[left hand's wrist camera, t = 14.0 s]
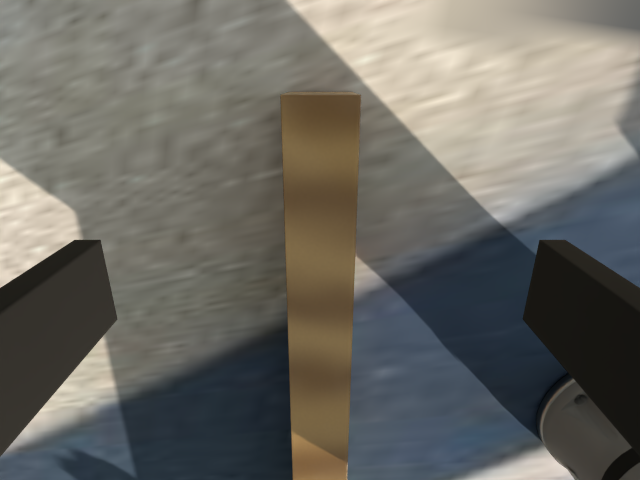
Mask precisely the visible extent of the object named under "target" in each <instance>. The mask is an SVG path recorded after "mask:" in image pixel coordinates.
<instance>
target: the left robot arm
mask: <svg viewBox="0 0 640 480" xmlns="http://www.w3.org/2000/svg"><path fill="white" fill-rule="evenodd" d="M116 320H117V315H116V311H115V306H114V301H113V297H112V292H111V287H110V283H109V278H108V273H107V269H106V264H105V259H104V255H103V250H102V245H101V240H74V241H72V242H71V243H69V244H68V245H66V246H65V247H63V248H62V249H60V250H58V251H57V252H55V253H54V254H52V255H51V256H49V257H48V258H46V259H45V260H43V261H41V262H40V263H38V264H37V265H35V266H34V267H32V268H31V269H29V270H28V271H26V272H24V273H23V274H21V275H20V276H18V277H17V278H15V279H14V280H12V281H11V282H9V283H7V284H6V285H4V286H3V287H1V288H0V456H1V455H2V454H3V453H4V452H5V450H6V449H7V448H8V447H9V446H10V445H11V443H12V442H13V441H14V440H15V439H16V438H17V436H18V435H19V434H20V433H21V432H22V430H23V429H24V428H25V427H26V426H27V425H28V423H29V422H30V421H31V420H32V419H33V418H34V416H35V415H36V414H37V413H38V412H39V411H40V409H41V408H42V407H43V406H44V405H45V403H46V402H47V401H48V400H49V399H50V398H51V396H52V395H53V394H54V393H55V392H56V391H57V389H58V388H59V387H60V386H61V385H62V384H63V382H64V381H65V380H66V379H67V378H68V376H69V375H70V374H71V373H72V372H73V371H74V369H75V368H76V367H77V366H78V365H79V364H80V362H81V361H82V360H83V359H84V358H85V357H86V355H87V354H88V353H89V352H90V351H91V349H92V348H93V347H94V346H95V345H96V344H97V342H98V341H99V340H100V339H101V338H102V337H103V335H104V334H105V333H106V332H107V331H108V330H109V328H110V327H111V326H112V325H113V324H114V323H115V321H116ZM523 320H524V321H525V323H526V324H527V325H528V326H529V327H530V328H531V330H532V331H533V332H534V333H535V334H536V335H537V337H538V338H539V339H540V340H541V341H542V342H543V344H544V345H545V346H546V347H547V348H548V350H549V351H550V352H551V353H552V354H553V355H554V357H555V358H556V359H557V360H558V361H559V362H560V364H561V365H562V366H563V367H564V368H565V369H566V371H567V372H568V373H569V374H567V375H566V376H564V377H563V378H562V379H560V380H559V381H558V382H557V383H556V384H555V385H554V386H553V387H552V388H551V389H550V390H549V391H548V393H547V394H546V396H545V397H544V399H543V400H542V402H541V404H540V407H539V409H538V413H537V420H536V424H537V431H538V434H539V436H540V438H541V440H542V442H543V443H544V445H545V447H546V448H547V450H548V451H549V452H550V454H551V455H552V456H553V457H554V458H555V460H556V461H557V462H559V463H560V464H561V465H562V466H564V467H565V468H566V469H568V471H569V472H570V473H571V475H572V476H573V478H574V479H575V480H640V288H639V287H637V286H636V285H634V284H633V283H631V282H629V281H628V280H626V279H625V278H623V277H622V276H620V275H619V274H617V273H616V272H614V271H612V270H611V269H609V268H608V267H606V266H605V265H603V264H602V263H600V262H599V261H597V260H595V259H594V258H592V257H591V256H589V255H588V254H586V253H585V252H583V251H582V250H580V249H578V248H577V247H575V246H574V245H572V244H571V243H569V242H568V241H566V240H539V245H538V250H537V255H536V259H535V264H534V269H533V273H532V278H531V283H530V287H529V292H528V297H527V301H526V306H525V311H524V315H523Z"/></svg>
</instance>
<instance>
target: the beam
mask: <svg viewBox="0 0 640 480" xmlns="http://www.w3.org/2000/svg"><path fill="white" fill-rule="evenodd" d="M360 110H361V95H360V94H356V93H353V92H287V93H284V94H282V95H281V126H282V157H283V189H284V220H285V252H286V283H287V314H288V346H289V377H290V408H291V440H292V471H293V480H347V463H348V436H349V409H350V382H351V355H352V327H353V300H354V273H355V246H356V218H357V191H358V164H359V137H360Z"/></svg>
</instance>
